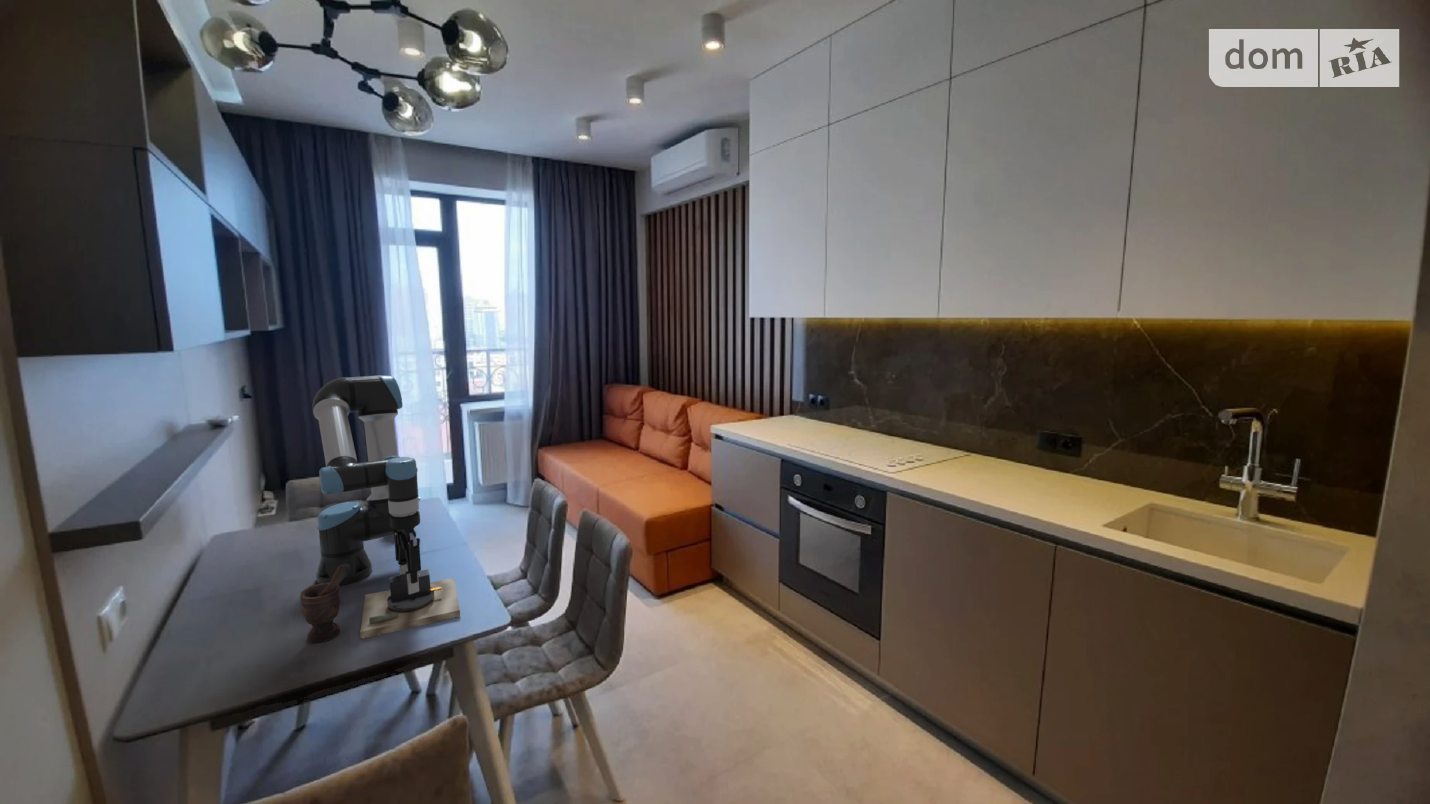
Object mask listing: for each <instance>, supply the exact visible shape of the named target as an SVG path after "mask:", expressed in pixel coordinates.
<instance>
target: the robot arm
mask: <svg viewBox="0 0 1430 804" xmlns="http://www.w3.org/2000/svg"><path fill="white" fill-rule="evenodd" d="M402 408H403V398H402V393H401V390H400V387H399V384H398V380H397V379H396V378H395V377H393V376H392V375H365V376H352V377H349V376H345V377H343V376H342V377H338V378H335V379H332V380H330V381H329V382H327V383H325V384H324V385H323V386H322V387H321V388H320V389H319V390H318V391H317V392H316V394H315V396H314V398H313V401H312V414H313V417H314V418H315V419H316V420H318V424H319V425H318V426H319V431H320V437H321V443H322V450H323V454H324V455H323V456H324V462H325V467H321V468H320V469H319V471H318V473H319V474H318V475H319V476H318V477H319V482H320V483H319V484H320V490H321V492H322V494H324V495H329V494H341V493H346V492H352V491H357V490H358V491H359V490H364V489H371V490H370V491H371V494H370V495H369V496H368V497H367V498H366V501H367V502H366V503H367V504H365V505H361V504H360V502H359V501H346V502H341V503H337V504H334V505H332V506H329V507H327V508H325V509H323V510H322V511H320V513H319V514H318V516H317V530H318V538H319V548H320V549H319V550H320V560H319V563H318V566H317V570H316V574H315V577H316V580H315V581H316V583H317V584H320V583H327V582H330V581H331V579H332V577H333V575H334V573H335V572H336V570H337V568H338V567H339V566H340V565H341V564H344V563H346V564H348V565H350V567H351V568H350V571H349V573H348V574H347V575H346V576H345V577H344V579H343V580H342V581H341V582H340V583H339V585H340V586H342V585H347V584H352V583H355V582H358V581H360V580H362V579H365V578H366V577H368V576H369V575H370V574H371V573H372V571H373V567H372V566H373V564H372V561H371V560H370V558H369V555H368V554H367V552H366V550H365V547H364V542H368V541H374V540H378V539H382V538H387V537H392V536H393V538H394V540H393V541H394V551H395V552H394V553H395V555H394V556H395V561H396V562H397V564H398V565H399V575H402V574H407V584H408V594H409V595H410V594H413V593H416V592H419V580H418V571H422V564H421V563H422V562H421V550H420V549H421V548H420V545H421V544H420V543H421V539H420V538H419V537H417V532H416V531H415V528H416V527H417V526H419V525H420V523H421V514H420V510H419V509H420V503H419V502H420V501H421V497H419V486H418V484H419V483H418V467H417V461H416V459H415V458H414V457H409V456H399V455H398V449H397V448H398V447H397V439H396V431H395V423H394V422H395V421H394V420H395V418H396V417H397V416H398V415H399V411H398V410H401V409H402ZM350 413H357V418H358V419H359V420H361V421H362V422H363V423H364V425H363V426H364V433H365V442H366V452H367V453H366V454H367V461H366V462H365V461H363V462H358V459H357V454H356V449H355V445H354V440H353V436H352V435H353V434H352V430H351V426H350V422H349V417H348V416H349V414H350ZM416 537H417V538H416Z"/></svg>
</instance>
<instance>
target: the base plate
mask: <svg viewBox="0 0 1430 804" xmlns="http://www.w3.org/2000/svg"><path fill="white" fill-rule="evenodd" d="M430 587H432V588H437V587H441V588H442V589H441V590H436V591H434V600H433V602H432V603H430V604H429V605H427V606H426V607H424V608H421V609H419V610H415V611H411V612H404V613H398V612H392V611H390V610H389V609H388V605H387V599H388V597H389V596H390V595H391V592H390V589H389V590H383V591H379V592H373V593H367V594H365V595H364V602H363V609H362V616H361V625H360V631H359V633H360V639H361V638H362V639H366V638H365V637H367V638H370V637H375V635H376V636H379V635H378V634H380V635H383V634H388V633H393V632H399V631H402V630H407V629H411V628H416V627H420V626H425V625H429V624H433V623H438V621H439V622H443V621H447V620H452V619H456V618H455V617H457V618H461V610H460V603H459V598H458V593H457V592H458V591H457V586H456V581H455V577H451V578H447V579H441V580H435V581H430Z"/></svg>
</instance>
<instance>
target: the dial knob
mask: <svg viewBox="0 0 1430 804" xmlns="http://www.w3.org/2000/svg"><path fill="white" fill-rule="evenodd" d="M430 575H431V574H430V570H429V569H423V570H422V569H421V571H418V580H419V592H416V593H413V594H410V595H409V594H408V584H407V574H402V575H400V574H398V575H394V576H389V577H388V579H389V588H390V589H389V590H390V592H391V595H390V596H389V597H388V599H387V605H388V609H389V610H390V611H392V612H398V613H404V612H411V611H415V610H419V609H421V608H424V607H426V606H427V605H429V604H430V603H432V602H433V600H434V591H436V590H441V589H442V588H441V587H437V588H432V587H430V582H431V578H430Z"/></svg>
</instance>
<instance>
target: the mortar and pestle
mask: <svg viewBox="0 0 1430 804" xmlns="http://www.w3.org/2000/svg"><path fill="white" fill-rule="evenodd" d="M350 568H351V567H350V565H348V564H346V563H344V564H341V565H340V566H339V567H338V568H337V570H336V572H335V573H334V575H333V577H332V579H331V581H330V582H327V583H320V584H318V583H317V584H311V585H309V586H307V587H306V588H304V589H303V590H301V591H300V595H299V598H300V606H301V613H302V616H303V618H304V620H305V622H306V623H307V624H309V625H311V626H312V627H311V628H310V630H309V631H308V633H307V635H306V640H307V642H308V643H311V644H317V643H322V642H323V643H324V642H326V641H329V640H331V639H333V638H335V637H337V636H339V635H340V633H341V627H340V625H339V624H338V623H336V622H334V619H335V618H337V617H338V615H339V611H340V607H341V595H340V594H341V585H339V583H340V582H341V581H342V580H343V579H344V577H345V576H346V575H347V574H348V573H349V571H350Z"/></svg>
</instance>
